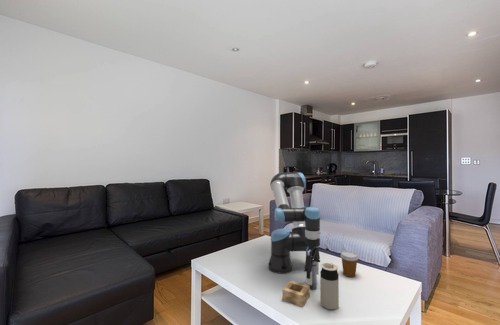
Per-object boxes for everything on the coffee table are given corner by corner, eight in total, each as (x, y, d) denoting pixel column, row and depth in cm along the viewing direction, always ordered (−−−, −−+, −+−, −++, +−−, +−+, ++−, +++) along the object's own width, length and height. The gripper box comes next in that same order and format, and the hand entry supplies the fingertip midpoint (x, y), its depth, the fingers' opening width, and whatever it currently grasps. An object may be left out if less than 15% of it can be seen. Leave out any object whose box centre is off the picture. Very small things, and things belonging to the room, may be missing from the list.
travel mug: (323, 310, 103) (323, 270, 103) (318, 299, 111) (318, 262, 111) (341, 310, 103) (341, 270, 103) (334, 299, 111) (334, 262, 111)
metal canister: (307, 288, 121) (307, 261, 120) (310, 284, 124) (309, 259, 124) (315, 290, 118) (315, 263, 118) (317, 287, 122) (317, 260, 122)
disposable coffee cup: (360, 279, 129) (360, 258, 129) (342, 277, 131) (342, 256, 131) (356, 271, 139) (355, 251, 139) (339, 270, 141) (339, 250, 140)
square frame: (282, 299, 111) (282, 289, 111) (290, 290, 119) (290, 280, 119) (302, 306, 105) (302, 296, 105) (309, 295, 114) (309, 285, 114)
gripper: (312, 245, 109) (312, 291, 109) (325, 232, 129) (325, 271, 129) (297, 243, 113) (297, 287, 113) (312, 230, 133) (312, 268, 133)
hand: (312, 278), depth 121 cm, fingers open, 11 cm apart
